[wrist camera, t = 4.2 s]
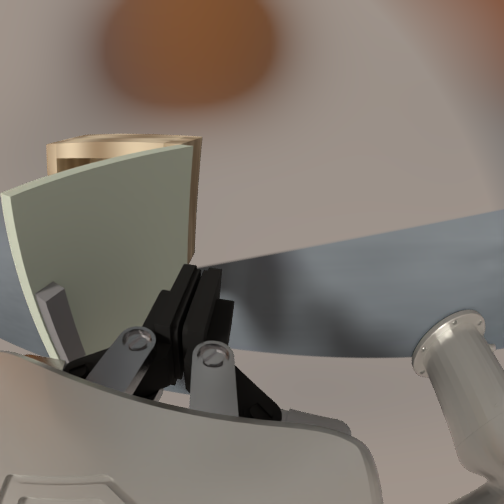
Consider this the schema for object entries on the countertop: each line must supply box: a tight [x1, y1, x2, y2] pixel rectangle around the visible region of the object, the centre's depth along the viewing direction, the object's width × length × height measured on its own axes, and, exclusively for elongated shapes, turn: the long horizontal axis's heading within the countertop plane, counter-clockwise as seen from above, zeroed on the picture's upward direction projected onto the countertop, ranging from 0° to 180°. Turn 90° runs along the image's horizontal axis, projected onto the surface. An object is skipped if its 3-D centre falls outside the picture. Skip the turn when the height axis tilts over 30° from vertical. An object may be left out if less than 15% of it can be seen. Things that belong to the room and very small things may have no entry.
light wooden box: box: [47, 134, 202, 264], centre depth 22 cm, size 12×11×6 cm
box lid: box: [1, 145, 193, 363], centre depth 14 cm, size 12×11×2 cm
